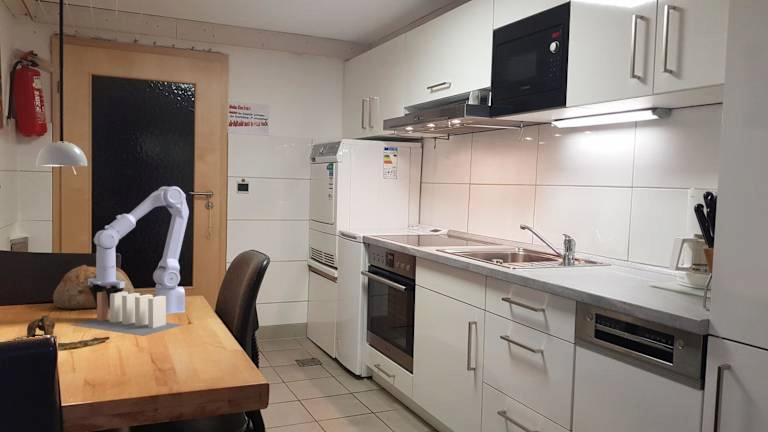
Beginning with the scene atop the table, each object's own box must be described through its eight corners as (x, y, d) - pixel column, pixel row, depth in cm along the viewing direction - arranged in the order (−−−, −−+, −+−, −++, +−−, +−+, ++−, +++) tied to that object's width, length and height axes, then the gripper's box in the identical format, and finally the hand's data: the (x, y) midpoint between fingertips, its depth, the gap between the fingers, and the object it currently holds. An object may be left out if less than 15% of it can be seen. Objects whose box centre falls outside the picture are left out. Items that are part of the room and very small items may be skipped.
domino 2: (109, 321, 182) (110, 293, 182) (122, 318, 187) (123, 291, 187) (114, 322, 181) (114, 294, 181) (127, 319, 186) (127, 292, 186)
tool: (10, 338, 161) (10, 374, 136) (11, 316, 161) (11, 348, 136) (101, 332, 174) (117, 363, 149) (103, 312, 174) (118, 340, 149)
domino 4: (135, 325, 178) (134, 296, 177) (148, 322, 183) (148, 294, 182) (139, 326, 177) (139, 297, 177) (152, 322, 182) (152, 294, 181)
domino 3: (122, 323, 180) (122, 295, 180) (135, 320, 185) (135, 292, 184) (126, 324, 179) (126, 295, 179) (139, 321, 184) (139, 293, 184)
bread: (45, 313, 197) (44, 269, 196) (64, 300, 219) (64, 261, 219) (127, 310, 204) (127, 268, 203) (138, 298, 226) (138, 260, 226)
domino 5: (148, 327, 176) (148, 298, 175) (161, 323, 180) (161, 295, 180) (153, 328, 175) (153, 298, 174) (165, 324, 180) (165, 296, 179)
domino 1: (97, 320, 184) (97, 292, 184) (110, 317, 189) (110, 290, 189) (101, 320, 184) (101, 293, 183) (114, 317, 188) (114, 290, 188)
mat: (69, 326, 178) (69, 324, 178) (112, 316, 192) (112, 315, 192) (143, 337, 165) (143, 335, 165) (183, 326, 180) (183, 324, 180)
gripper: (79, 266, 185) (79, 308, 185) (111, 269, 179) (112, 312, 180) (98, 264, 191) (98, 304, 192) (130, 267, 186) (130, 308, 186)
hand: (106, 308), depth 186 cm, fingers open, 5 cm apart
